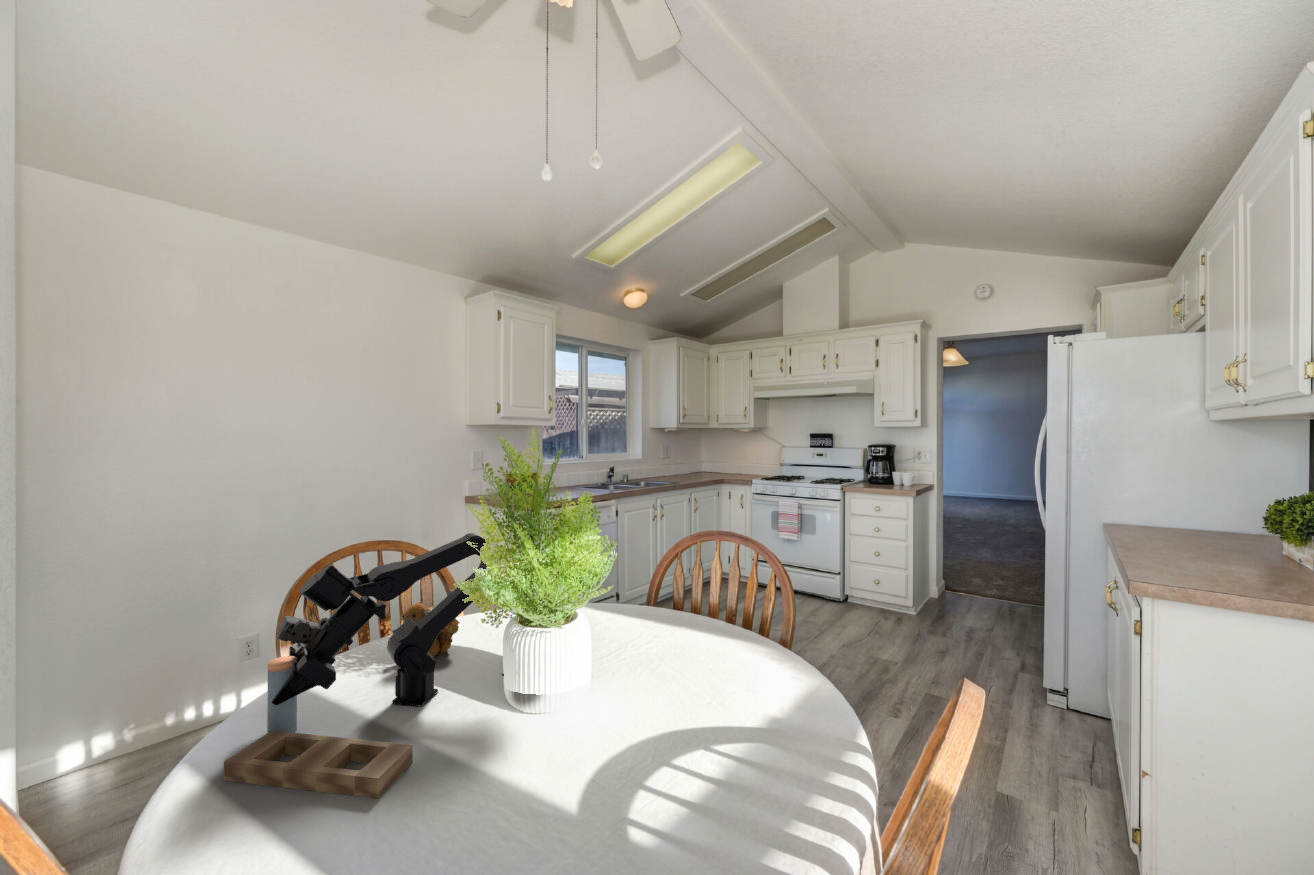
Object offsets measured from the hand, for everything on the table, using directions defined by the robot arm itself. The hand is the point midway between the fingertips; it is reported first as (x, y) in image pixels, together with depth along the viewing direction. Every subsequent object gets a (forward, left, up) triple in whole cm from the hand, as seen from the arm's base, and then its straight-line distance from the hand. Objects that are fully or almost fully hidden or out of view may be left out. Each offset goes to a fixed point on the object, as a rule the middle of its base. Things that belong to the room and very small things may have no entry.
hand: (273, 698), depth 99 cm
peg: (-1, -1, -7) cm, 7 cm away
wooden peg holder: (-16, +8, -7) cm, 19 cm away
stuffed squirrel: (-8, -37, -7) cm, 38 cm away
